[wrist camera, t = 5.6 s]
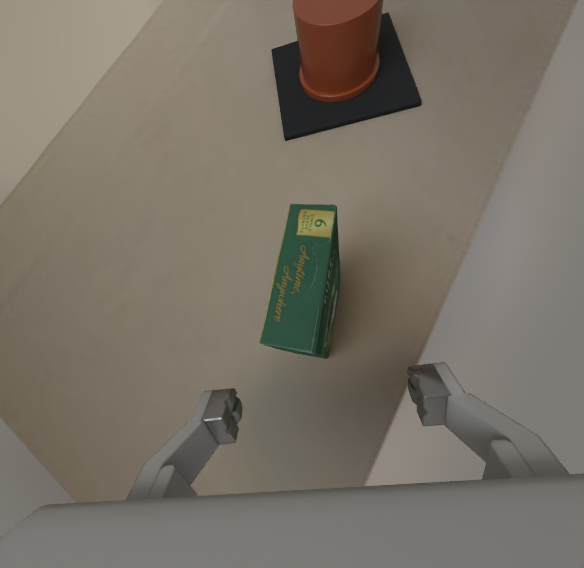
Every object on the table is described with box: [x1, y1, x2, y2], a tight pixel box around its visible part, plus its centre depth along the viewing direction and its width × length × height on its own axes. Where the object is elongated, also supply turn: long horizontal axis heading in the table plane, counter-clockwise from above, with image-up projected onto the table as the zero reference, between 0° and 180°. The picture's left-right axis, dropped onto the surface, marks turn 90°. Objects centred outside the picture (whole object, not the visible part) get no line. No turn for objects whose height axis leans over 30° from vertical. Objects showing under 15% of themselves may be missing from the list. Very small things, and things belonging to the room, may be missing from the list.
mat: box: [272, 13, 422, 141], centre depth 32 cm, size 16×16×1 cm
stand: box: [293, 0, 383, 102], centre depth 29 cm, size 10×10×8 cm
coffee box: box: [260, 204, 340, 359], centre depth 19 cm, size 8×3×13 cm, turn 171°
